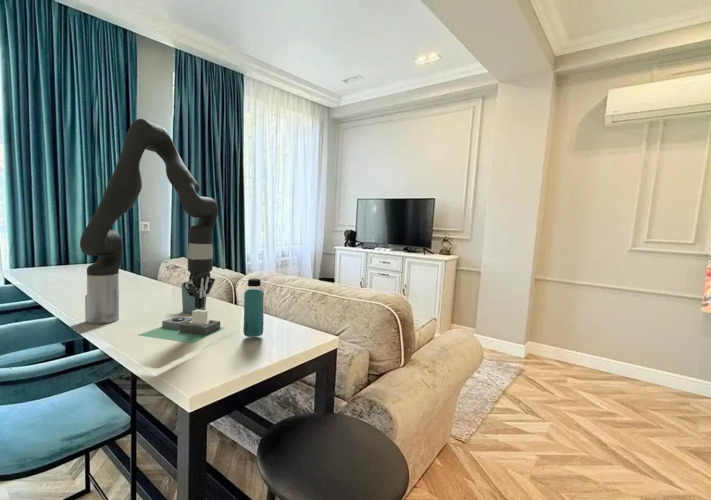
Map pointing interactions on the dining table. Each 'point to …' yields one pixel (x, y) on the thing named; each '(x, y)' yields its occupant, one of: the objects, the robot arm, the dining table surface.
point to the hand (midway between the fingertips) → (199, 308)
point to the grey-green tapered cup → (189, 301)
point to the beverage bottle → (253, 309)
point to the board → (183, 330)
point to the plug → (199, 318)
